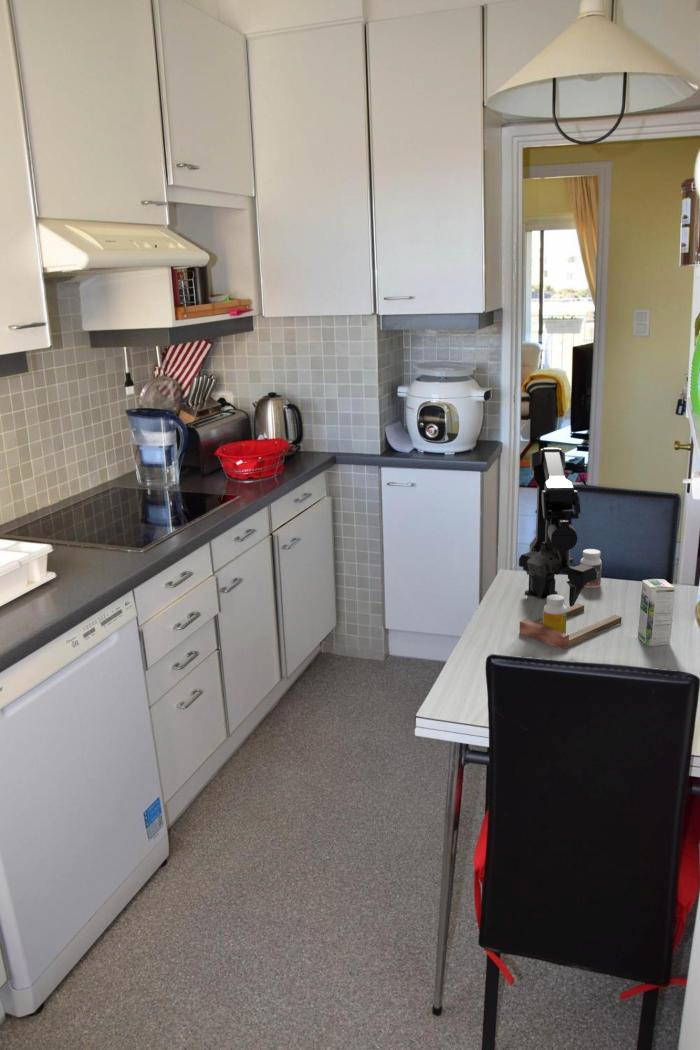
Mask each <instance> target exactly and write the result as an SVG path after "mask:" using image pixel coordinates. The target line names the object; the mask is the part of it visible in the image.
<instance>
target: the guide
mask: <svg viewBox="0 0 700 1050" xmlns="http://www.w3.org/2000/svg"><path fill="white" fill-rule="evenodd" d="M566 608H567V616H566V619H569V618H570V617H573V616H575V615H578V614H580V613H582V612H585V604H581V603H579V602H577V603H575V604H574V605H573V606H572V607H571V606H566ZM622 619H623V618H622V616H621V615H617V614H612V615H610V616H608V617H606V618H603V619H602V620H599V621H597V622H595V623H592V624H590V625H589V626H586V627H583V628H581V629H578V630H576V631H574V632H572V633H570V634H568V633H566V634H565V633H562V632H560V631H557V630H554V629H551V628H548V627H545V626H543V617H541V618H538V619H535V620H533V621H530V620H528V619H523V620H520V621H519V634H521V635H524V636H526V637H529V638H532V639H533V640H537V641H540V642H543V643H546V644H548V645H551V646H554V647H556V648H559V649H561V650H565V649H568V647H571V646H573V645H576V644H578V643H580V642H582V641H584V640H586V639H589V638H591V637H593V636H596V635H598V634H600V633H602V632H604V631H606V630H608V629H611V628H613V627H615V626H617V625H619V624H622Z"/></svg>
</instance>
